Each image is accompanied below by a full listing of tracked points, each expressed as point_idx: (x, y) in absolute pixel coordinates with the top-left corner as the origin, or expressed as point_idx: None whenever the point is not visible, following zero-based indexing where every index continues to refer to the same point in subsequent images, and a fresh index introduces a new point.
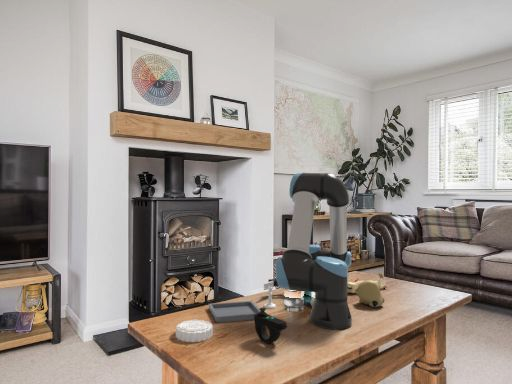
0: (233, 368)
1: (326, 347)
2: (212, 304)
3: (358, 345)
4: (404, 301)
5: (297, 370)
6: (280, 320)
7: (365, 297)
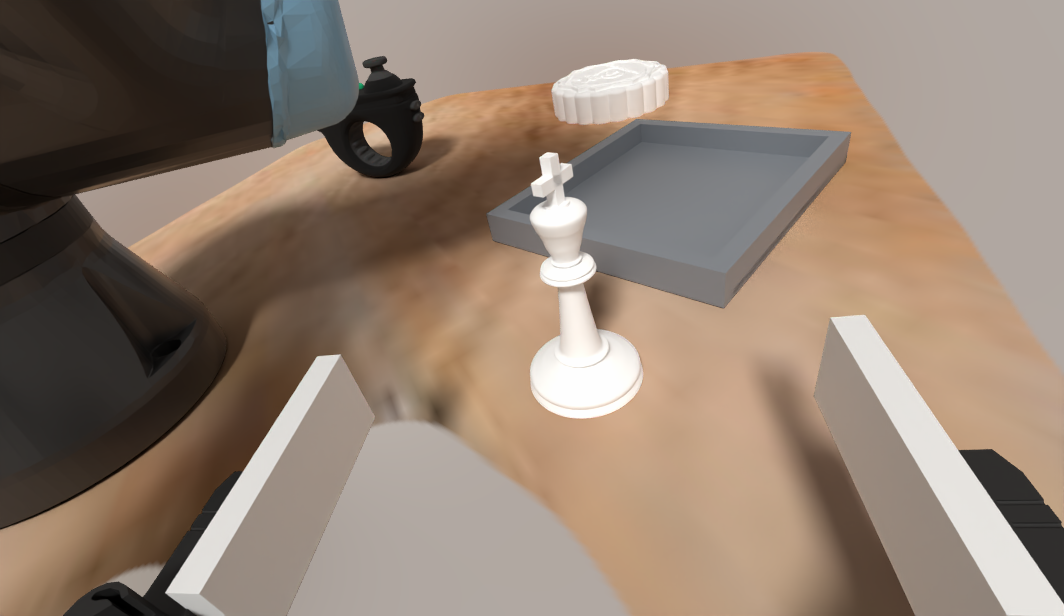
0: None
1: (193, 234)
2: (826, 139)
3: None
4: None
5: (285, 160)
6: None
7: None
